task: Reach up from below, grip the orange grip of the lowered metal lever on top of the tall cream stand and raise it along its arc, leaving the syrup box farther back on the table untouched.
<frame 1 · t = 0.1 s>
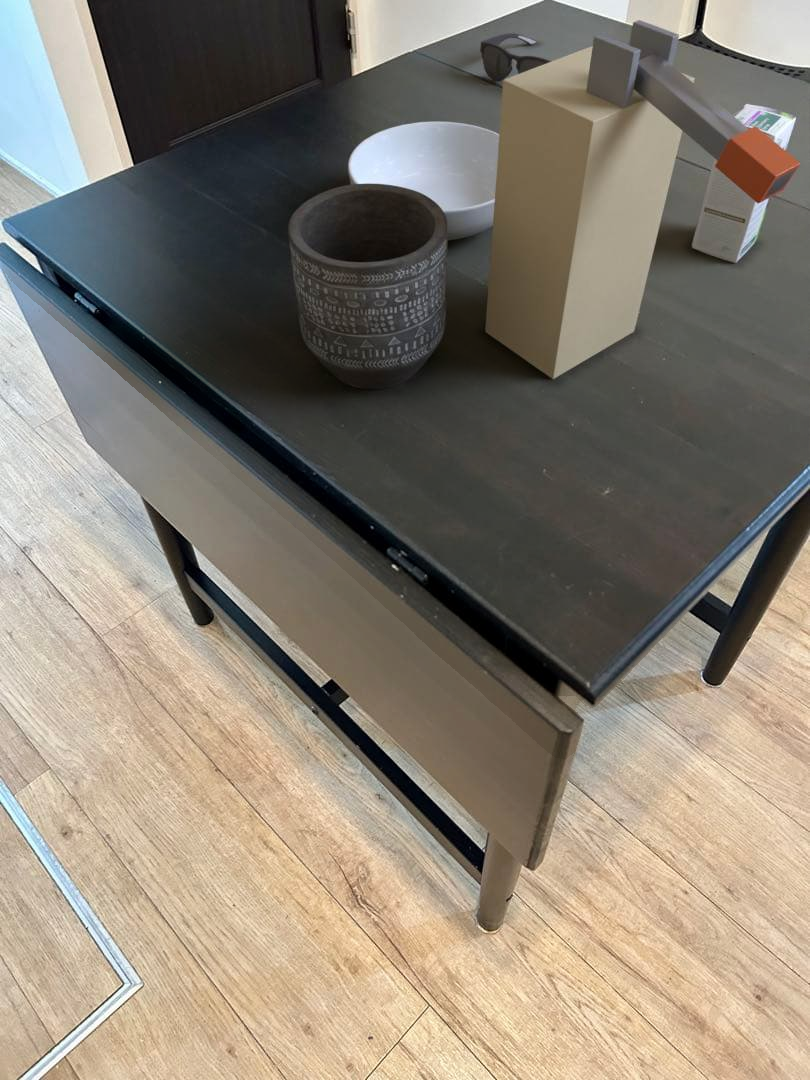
sunglasses: (542, 72, 129), on the table
lever stand: (559, 331, 87), on the table
lever: (708, 123, 62), point 25 cm above the table, hinge at -15.0°
planter: (375, 359, 85), on the table
syrup box: (721, 246, 97), on the table
serving bowl: (436, 218, 102), on the table
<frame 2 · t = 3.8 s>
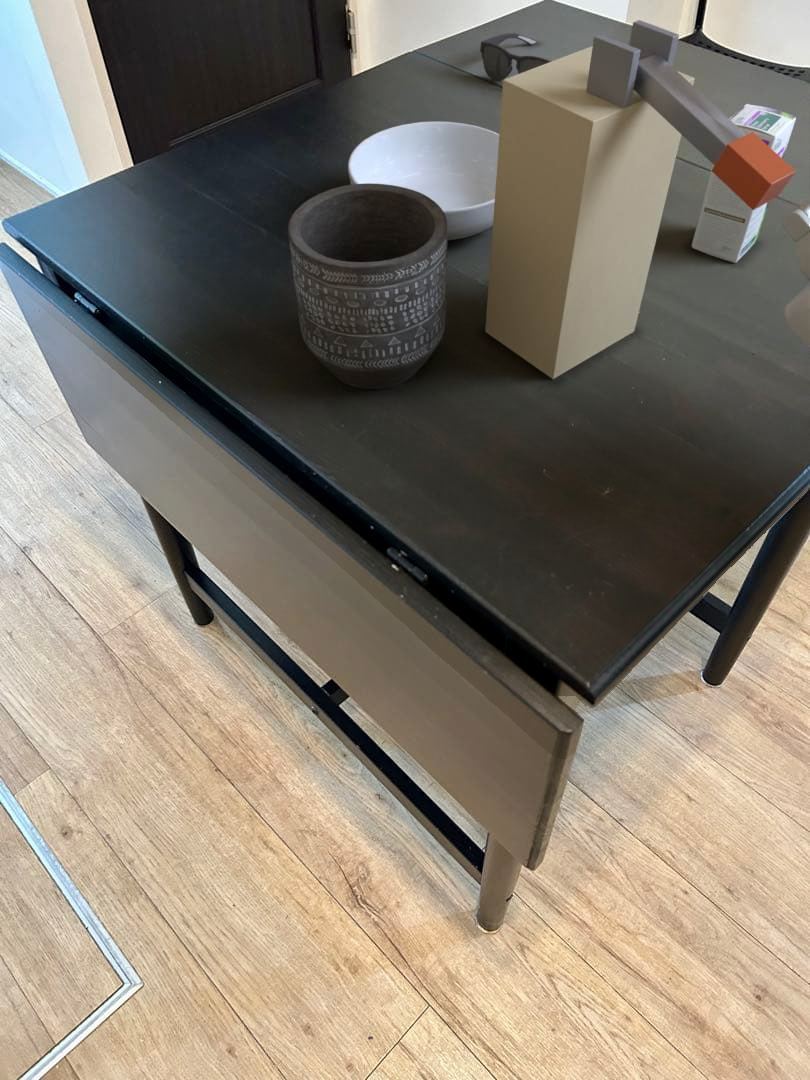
lever: (706, 127, 62), point 25 cm above the table, hinge at -17.6°
everything else where it was.
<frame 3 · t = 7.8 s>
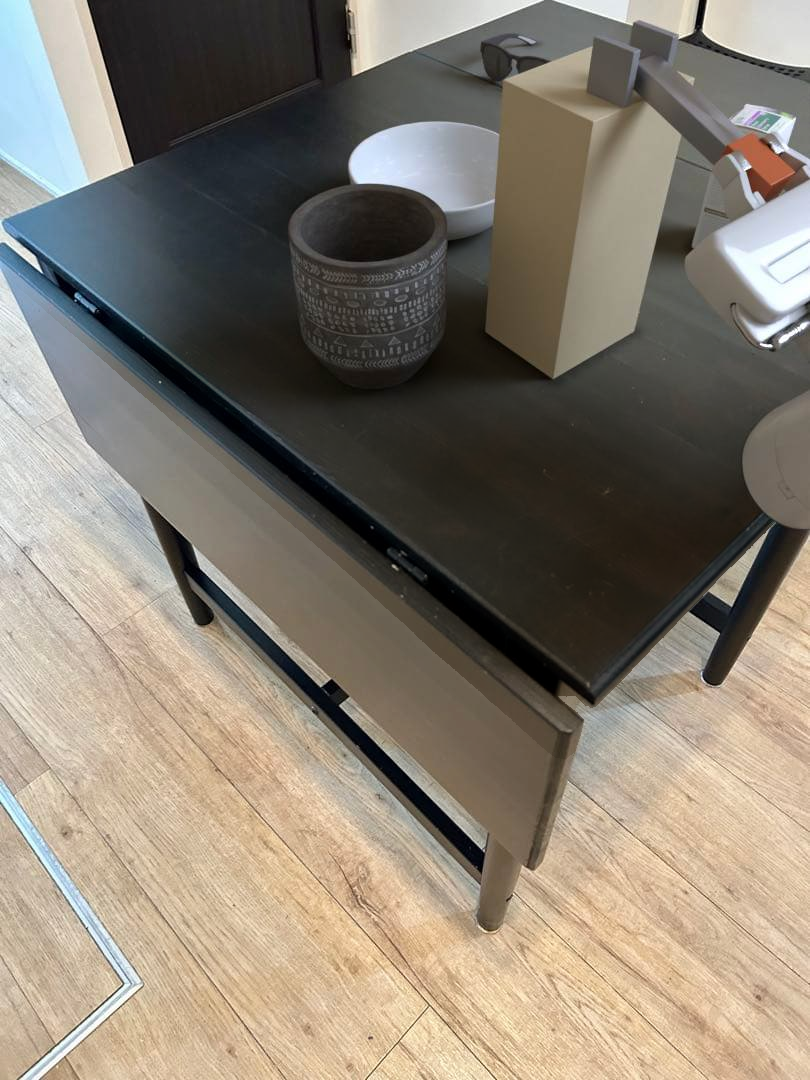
hand: (742, 148, 61), 24 cm above the table, tool pointing upward, fingers closed on lever, 3 cm apart
lever: (705, 128, 63), point 25 cm above the table, hinge at -17.8°, touching gripper
everything else where it was.
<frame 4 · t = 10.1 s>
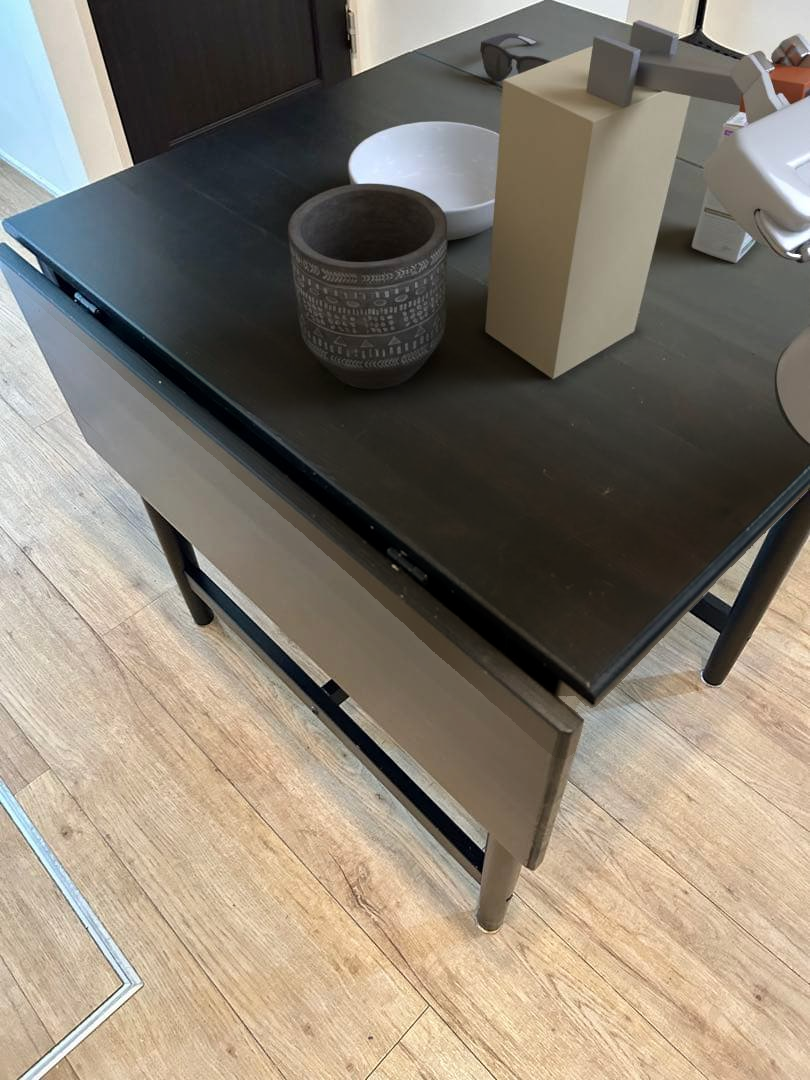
hand: (764, 51, 56), 31 cm above the table, tool pointing upward, fingers closed on lever, 3 cm apart
lever: (721, 81, 60), point 28 cm above the table, hinge at 9.2°, touching gripper
everything else where it was.
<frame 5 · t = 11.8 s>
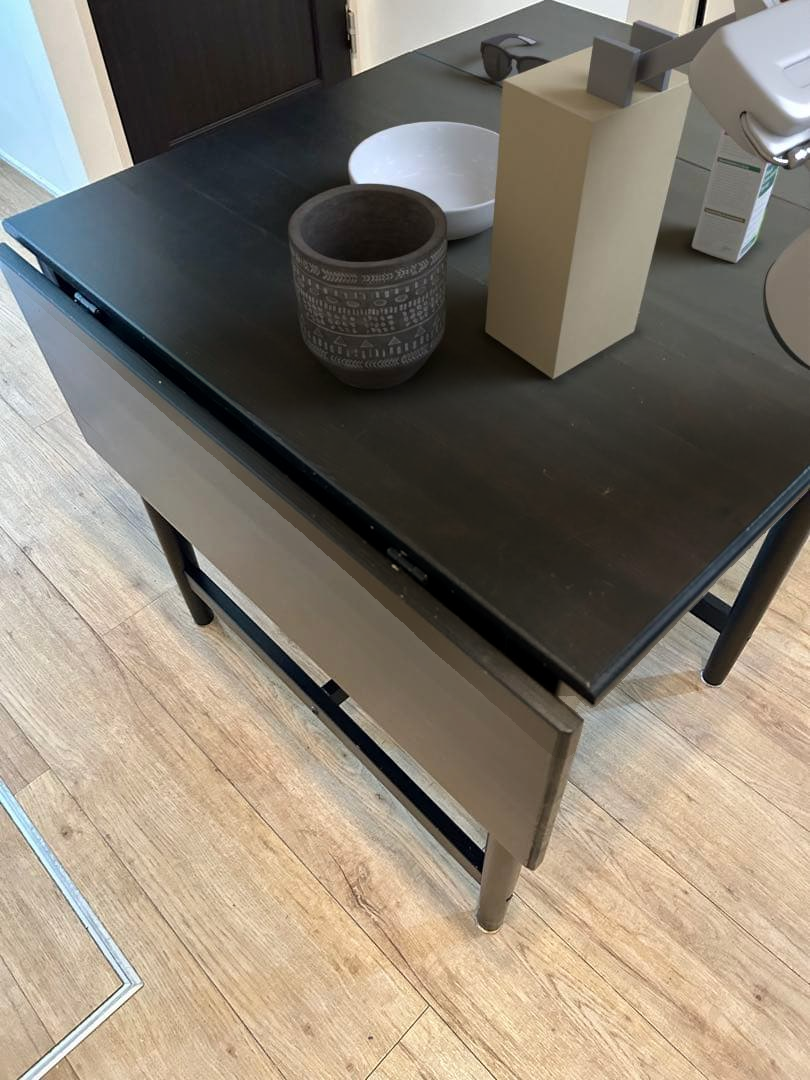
lever: (719, 34, 58), point 31 cm above the table, hinge at 33.1°, touching gripper
everything else where it was.
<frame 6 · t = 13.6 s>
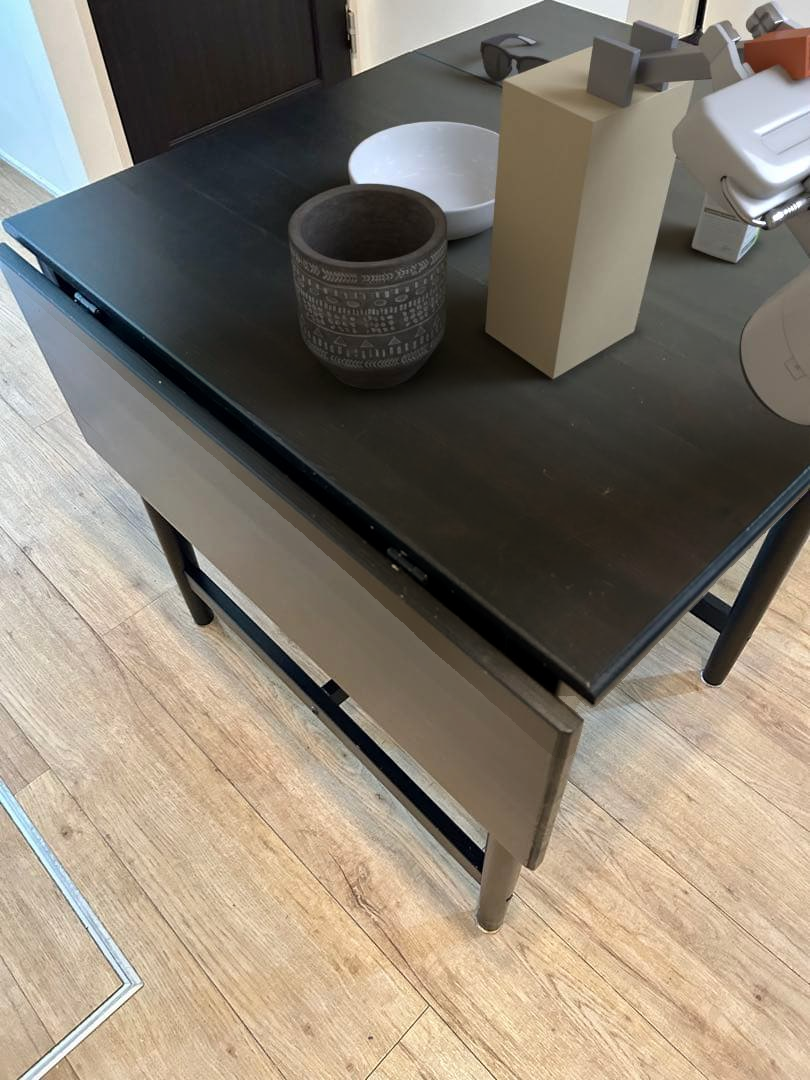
hand: (734, 20, 57), 32 cm above the table, tool pointing upward, fingers open, 4 cm apart
lever: (722, 60, 59), point 29 cm above the table, hinge at 20.0°
everything else where it was.
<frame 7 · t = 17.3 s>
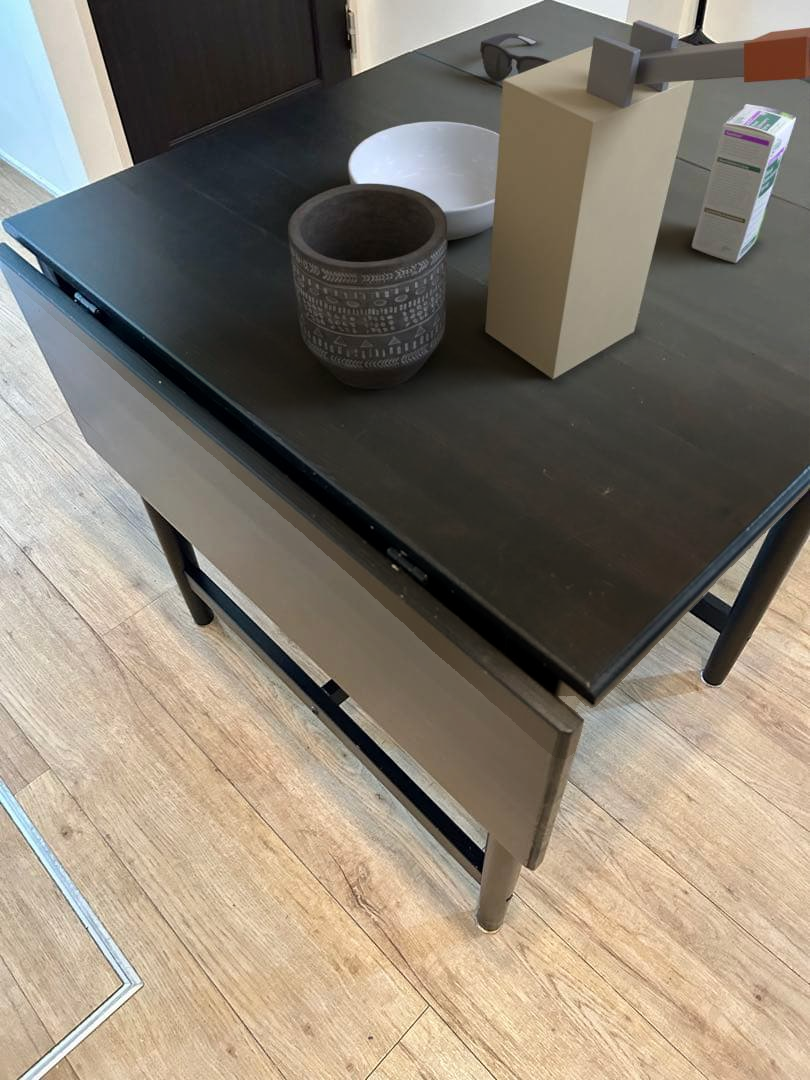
nothing on the table moved.
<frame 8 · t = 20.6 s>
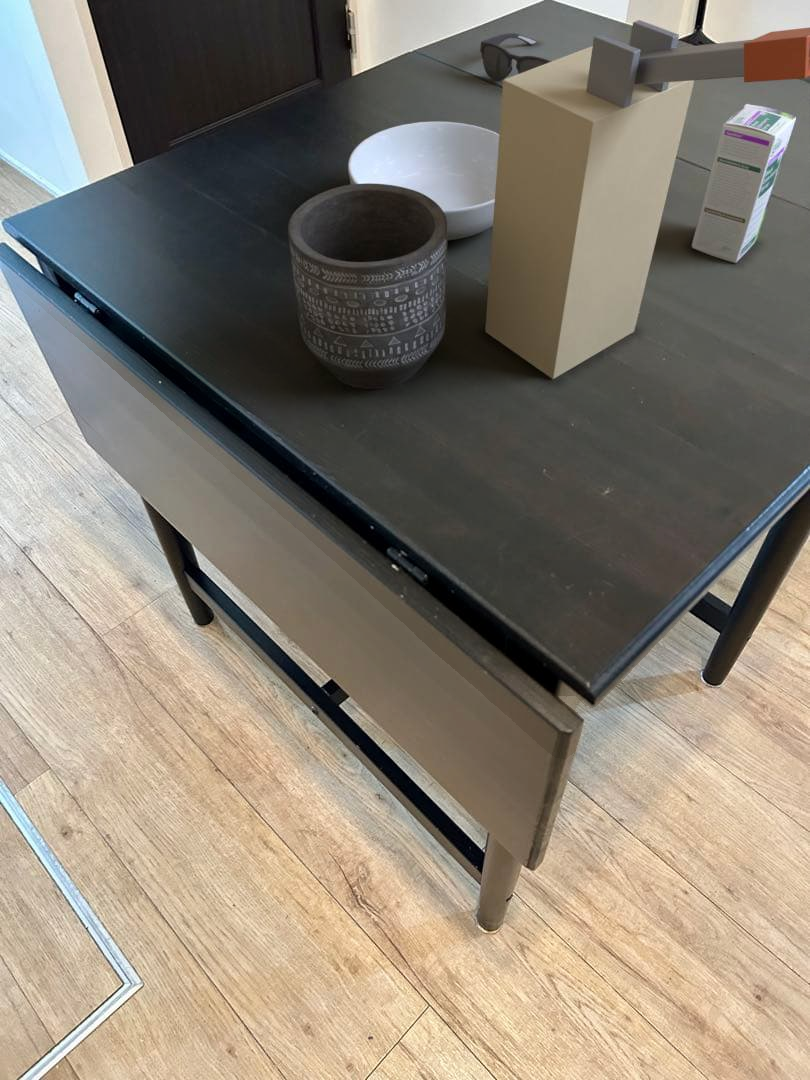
nothing on the table moved.
at the end: lever reached +33° during the clip, +20° at the end; lever at +20° (first picture: -15°); syrup box moved 0.2 cm from its start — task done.
